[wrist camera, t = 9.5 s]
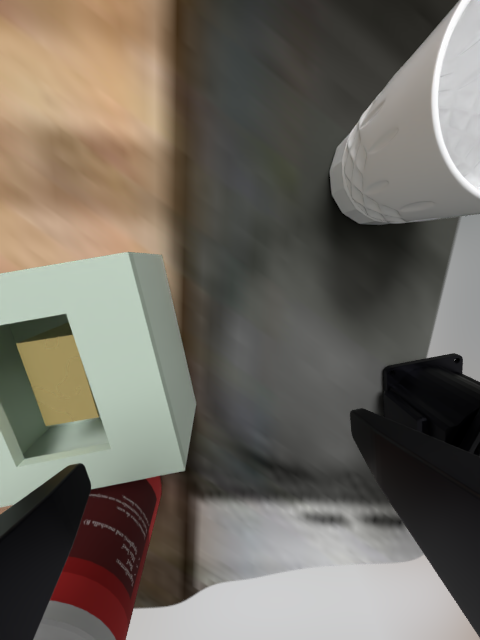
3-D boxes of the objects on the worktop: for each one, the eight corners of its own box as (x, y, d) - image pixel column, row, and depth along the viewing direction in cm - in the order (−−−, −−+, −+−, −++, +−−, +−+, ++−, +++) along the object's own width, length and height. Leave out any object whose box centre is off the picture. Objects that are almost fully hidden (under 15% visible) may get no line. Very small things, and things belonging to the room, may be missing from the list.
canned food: (75, 519, 23) (-50, 743, 12) (69, 441, 21) (-82, 622, 11) (163, 519, 24) (117, 730, 13) (164, 442, 22) (112, 614, 11)
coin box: (161, 254, 19) (128, 252, 12) (196, 403, 21) (185, 470, 15) (-10, 284, 18) (-146, 298, 11) (48, 431, 21) (-34, 514, 14)
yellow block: (111, 315, 19) (73, 334, 14) (128, 378, 20) (98, 417, 15) (69, 321, 19) (15, 343, 14) (88, 385, 20) (45, 426, 15)
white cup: (446, 189, 19) (680, 117, 9) (355, 255, 20) (487, 251, 10) (396, 84, 17) (621, -140, 8) (298, 160, 18) (391, 42, 8)
